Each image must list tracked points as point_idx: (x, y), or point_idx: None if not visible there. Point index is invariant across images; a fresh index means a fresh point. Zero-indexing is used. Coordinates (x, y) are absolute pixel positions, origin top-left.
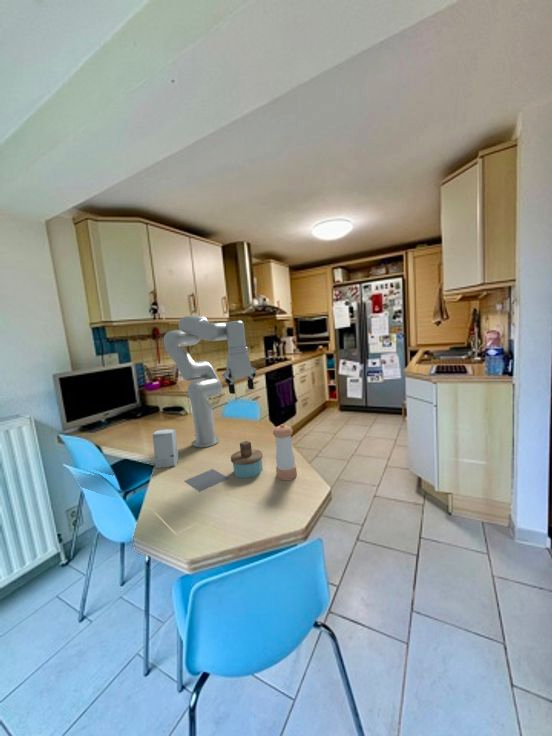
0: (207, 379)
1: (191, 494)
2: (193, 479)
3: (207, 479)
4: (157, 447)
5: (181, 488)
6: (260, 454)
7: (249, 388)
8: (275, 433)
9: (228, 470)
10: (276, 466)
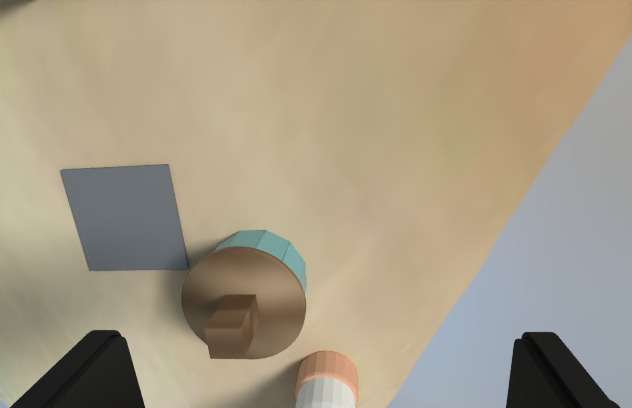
0: None
1: (70, 258)
2: (88, 186)
3: (127, 224)
4: None
5: (49, 203)
6: (284, 341)
7: (513, 372)
8: None
9: (212, 213)
10: (304, 379)
